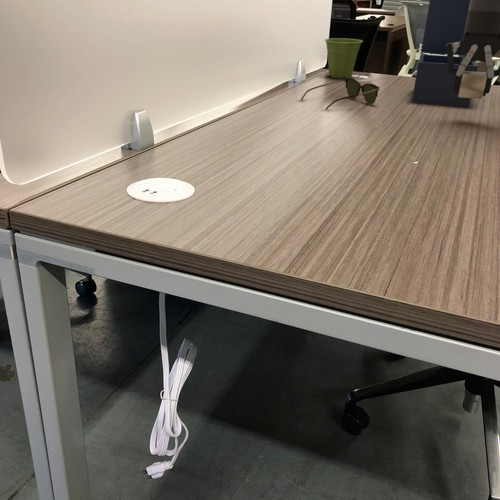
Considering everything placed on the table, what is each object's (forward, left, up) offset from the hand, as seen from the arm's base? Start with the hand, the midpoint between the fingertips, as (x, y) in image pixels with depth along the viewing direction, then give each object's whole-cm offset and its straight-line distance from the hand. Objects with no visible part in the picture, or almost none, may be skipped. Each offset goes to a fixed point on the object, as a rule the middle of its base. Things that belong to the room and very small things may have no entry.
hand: (470, 94), depth 111 cm
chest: (+5, -27, -6) cm, 28 cm away
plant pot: (+36, -50, -6) cm, 62 cm away
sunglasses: (+30, -9, -6) cm, 32 cm away
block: (0, 0, 0) cm, 0 cm away
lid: (+5, -35, +14) cm, 38 cm away
